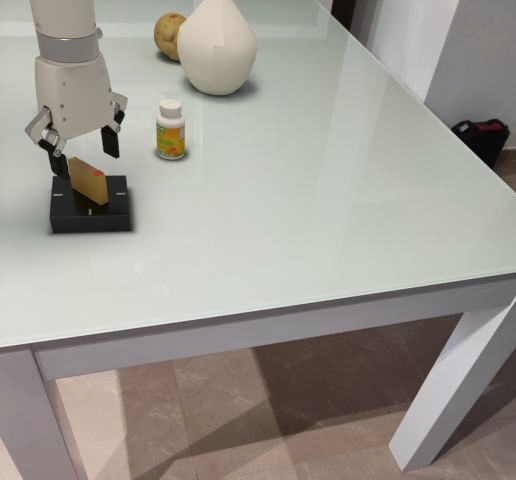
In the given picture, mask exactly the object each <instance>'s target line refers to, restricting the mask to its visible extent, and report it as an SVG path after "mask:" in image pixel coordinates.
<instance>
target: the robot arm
mask: <svg viewBox="0 0 516 480" xmlns="http://www.w3.org/2000/svg"><path fill="white" fill-rule="evenodd" d="M29 2H30V3H29V4H30V9H31V13H32V19H33V25H34V28H35V29H34V30H35V35H36V39H37V40H36V41H37V45H38V50H39V55H37V56H36V57H35V59H34V86H35V94H36V103H37V109H38V110H37V111H38V114H37V115H35V116H34V118H33V119H32V120H31V121H30V122H28V124H27V125H26V126H25V128H24V133H25V134H26V135H27V137H29V139H30V140H31V141H32V142H33V144H34V145H35V146H37V147H38V148H41V149H43V150H44V151H46V152H47V156H48V162H49V167H50V170H51V172H52V173H53V174H54V176H58V177H60V178H62V179H63V180H65V181H67V180H69V179H70V173H69V167H68V161H67V160H68V158H67V156H66V154H64V153H63V151H64V149H65V147H66V144H67V142H68V140H73V139H75V138H78V137H81V136H83V135H85V134H88V133H91V132H94V131H97V130H99V129H100V135H101V144H102V145H101V146H102V151H103V153H105V154H106V155H108V156H110V157H111V158H113V159H117V160H118V159H119V158H120V157H121V155H120V154H121V153H120V143H119V133H121V130H122V127H121V124H122V123H123V121H124V119H125V117H126V113H125V112H126V109H127V105H128V102H129V99H128V97H127V96H126V95H123V94H121V93H118V92H115V91H113V90H112V84H111V78H110V74H109V71H108V67H107V64H106V60H105V58H104V54H103V52H102V51H100V44H99V40H100V39H102V38H103V36H104V34H103V31H102V29H101V27H98V26H97V21H96V20H97V19H96V11H95V2H94V0H29ZM43 130H45V131H47V132H46V135H45V137H44V136H43V133H42V132H43ZM54 143H55V144H54Z"/></svg>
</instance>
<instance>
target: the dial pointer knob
mask: <svg viewBox="0 0 516 480" xmlns="http://www.w3.org/2000/svg"><path fill="white" fill-rule="evenodd" d="M67 164H68V169H69V174H70V178H71V184H72V188H74V189H75V190H77V191H78V192H80V193H82V194H83V195H85V196H86V197H88V198H90V199H91V200H93V201H95V202H96V203H98V204H99V205H103V204H105V203H107V202H108V194H107V186H106V177H105V175H106V173H105V172H104V171H102V170H101V169H98V168H97V167H94V166H92V164H91V165H90V164H89V163H87V162H85V160H82V159H80V158H79V157H77V156H73V157H70V158H67Z"/></svg>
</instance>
